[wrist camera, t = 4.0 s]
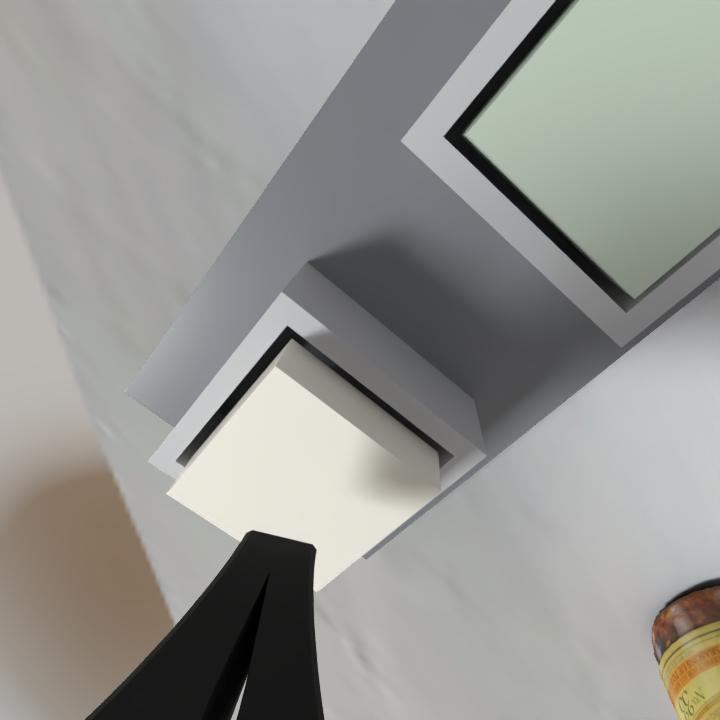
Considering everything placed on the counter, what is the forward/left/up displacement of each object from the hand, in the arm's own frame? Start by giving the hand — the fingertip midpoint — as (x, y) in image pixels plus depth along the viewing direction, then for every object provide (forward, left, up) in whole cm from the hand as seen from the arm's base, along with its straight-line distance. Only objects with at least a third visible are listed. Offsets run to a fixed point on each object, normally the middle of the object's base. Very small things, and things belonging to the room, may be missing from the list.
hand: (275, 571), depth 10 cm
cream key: (0, 0, -4) cm, 4 cm away
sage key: (0, -11, -5) cm, 12 cm away
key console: (0, -5, -10) cm, 11 cm away
